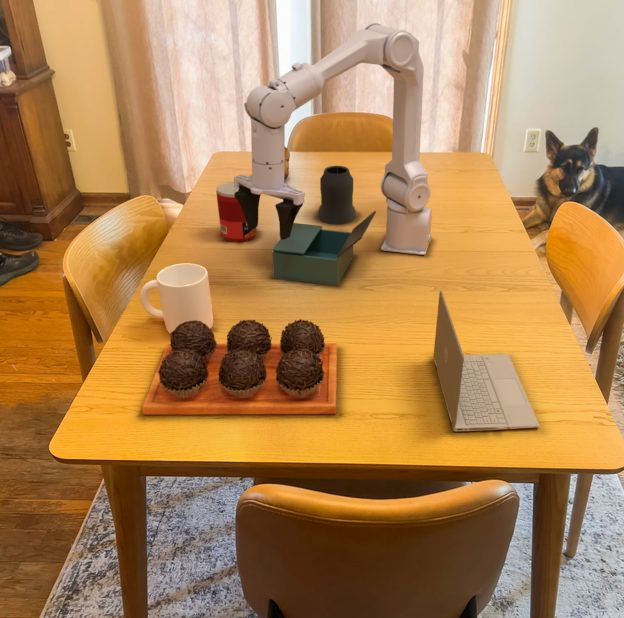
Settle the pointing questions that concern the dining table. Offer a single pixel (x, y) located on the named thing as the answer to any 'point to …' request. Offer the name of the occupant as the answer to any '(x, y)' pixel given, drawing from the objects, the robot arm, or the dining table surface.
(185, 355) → the truffle serving tray
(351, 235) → the lid
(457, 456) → the dining table surface
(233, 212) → the canned food
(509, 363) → the laptop
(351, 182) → the mug
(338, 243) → the storage box
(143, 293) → the mug
